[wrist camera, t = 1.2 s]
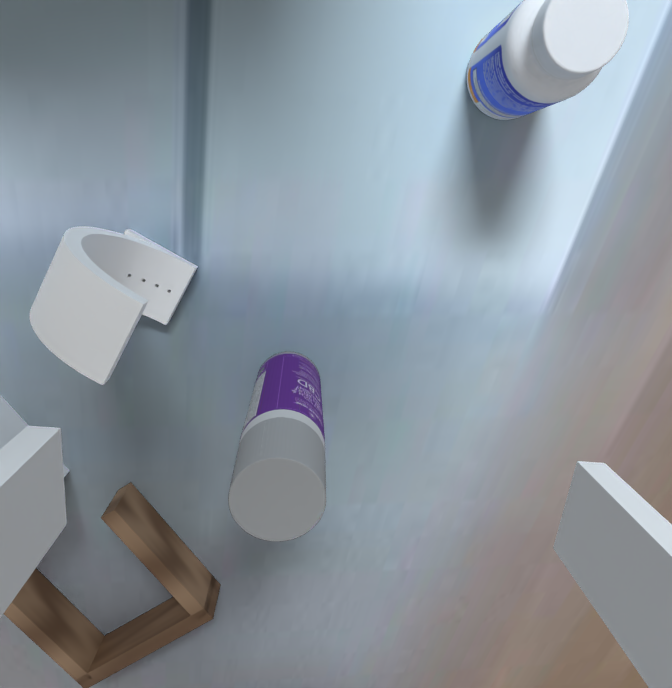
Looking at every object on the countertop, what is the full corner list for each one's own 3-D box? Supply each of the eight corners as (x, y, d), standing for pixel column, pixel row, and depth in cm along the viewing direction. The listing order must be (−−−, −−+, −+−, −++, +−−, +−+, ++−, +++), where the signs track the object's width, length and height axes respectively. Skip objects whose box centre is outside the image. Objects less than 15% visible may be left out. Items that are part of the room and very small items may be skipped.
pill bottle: (532, 128, 33) (622, 104, 24) (454, 111, 32) (514, 78, 23) (559, 37, 31) (665, -28, 22) (477, 16, 31) (550, -59, 21)
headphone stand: (169, 322, 35) (102, 386, 24) (87, 279, 34) (-24, 324, 23) (198, 266, 34) (144, 304, 23) (115, 219, 33) (14, 235, 22)
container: (328, 361, 37) (342, 470, 22) (309, 417, 38) (310, 554, 24) (267, 343, 36) (241, 443, 22) (249, 400, 37) (213, 530, 23)
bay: (6, 557, 40) (-22, 590, 37) (131, 482, 39) (114, 509, 35) (102, 651, 43) (85, 689, 40) (220, 584, 42) (213, 618, 39)
